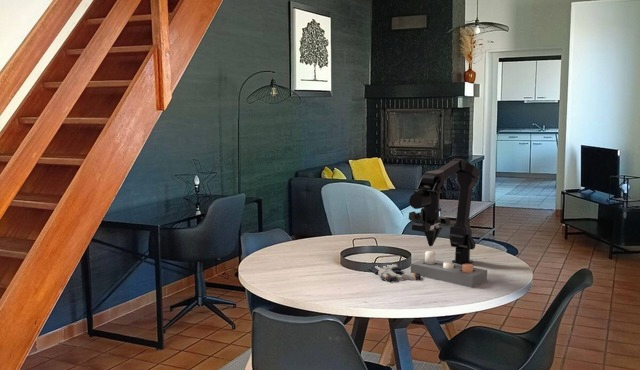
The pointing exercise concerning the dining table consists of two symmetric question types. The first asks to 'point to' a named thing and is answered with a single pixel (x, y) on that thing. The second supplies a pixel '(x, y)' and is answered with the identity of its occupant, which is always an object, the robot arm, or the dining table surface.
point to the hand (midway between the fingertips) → (430, 246)
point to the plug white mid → (448, 265)
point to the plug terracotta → (467, 268)
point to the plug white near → (430, 257)
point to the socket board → (449, 273)
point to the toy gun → (394, 273)
